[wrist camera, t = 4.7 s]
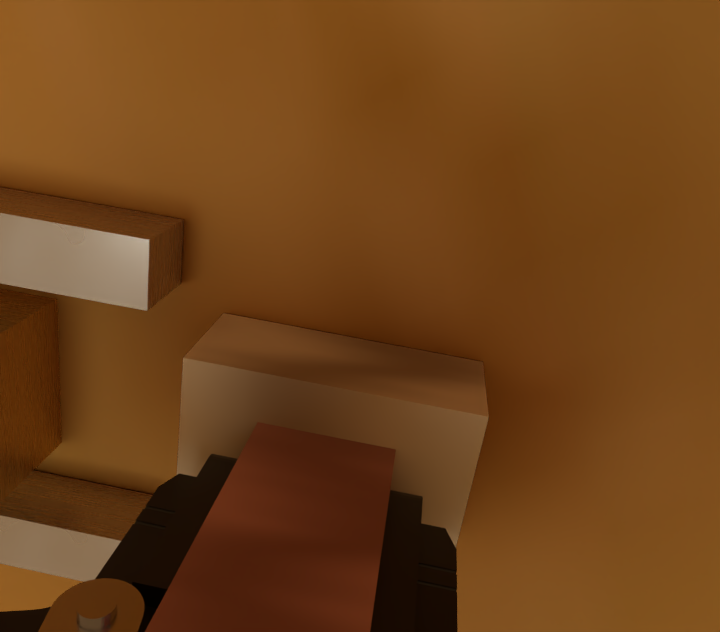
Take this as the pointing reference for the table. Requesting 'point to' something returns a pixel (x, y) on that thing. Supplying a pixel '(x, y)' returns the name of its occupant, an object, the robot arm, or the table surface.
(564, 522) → the table surface
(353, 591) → the block on square base
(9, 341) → the pale yellow cube
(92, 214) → the rail
